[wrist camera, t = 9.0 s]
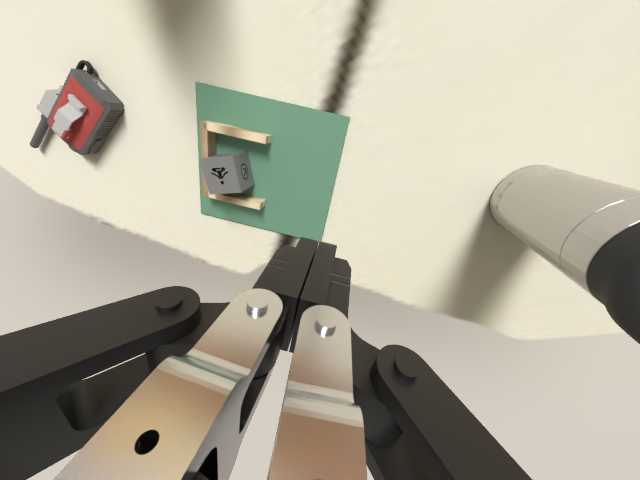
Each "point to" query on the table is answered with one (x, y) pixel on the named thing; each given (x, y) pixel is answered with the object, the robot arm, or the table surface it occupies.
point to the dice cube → (227, 172)
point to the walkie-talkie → (79, 111)
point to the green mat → (277, 159)
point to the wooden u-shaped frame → (210, 149)
